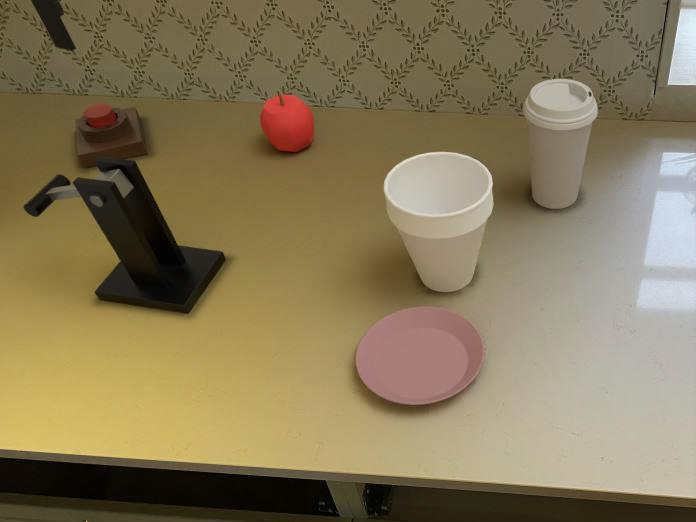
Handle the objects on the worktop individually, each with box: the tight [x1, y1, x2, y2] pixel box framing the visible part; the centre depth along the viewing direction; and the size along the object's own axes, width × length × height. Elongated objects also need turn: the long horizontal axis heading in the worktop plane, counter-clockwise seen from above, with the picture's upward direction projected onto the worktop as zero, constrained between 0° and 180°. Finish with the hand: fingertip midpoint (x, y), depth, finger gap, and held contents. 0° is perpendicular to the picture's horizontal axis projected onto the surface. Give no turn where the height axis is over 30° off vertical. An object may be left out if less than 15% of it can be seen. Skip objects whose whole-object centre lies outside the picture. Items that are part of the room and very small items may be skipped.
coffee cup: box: [522, 78, 599, 210], centre depth 87 cm, size 10×10×15 cm
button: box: [83, 103, 117, 127], centre depth 98 cm, size 4×4×2 cm
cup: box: [383, 151, 494, 293], centre depth 78 cm, size 12×12×14 cm
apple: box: [259, 94, 315, 153], centre depth 98 cm, size 8×8×8 cm
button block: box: [74, 106, 149, 169], centre depth 100 cm, size 11×9×4 cm
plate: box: [355, 306, 486, 406], centre depth 73 cm, size 14×14×2 cm
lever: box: [23, 169, 134, 218], centre depth 73 cm, size 12×6×2 cm, turn 78°
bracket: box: [72, 156, 227, 314], centre depth 76 cm, size 12×10×16 cm
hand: (17, 72), depth 74 cm, fingers open, 13 cm apart
